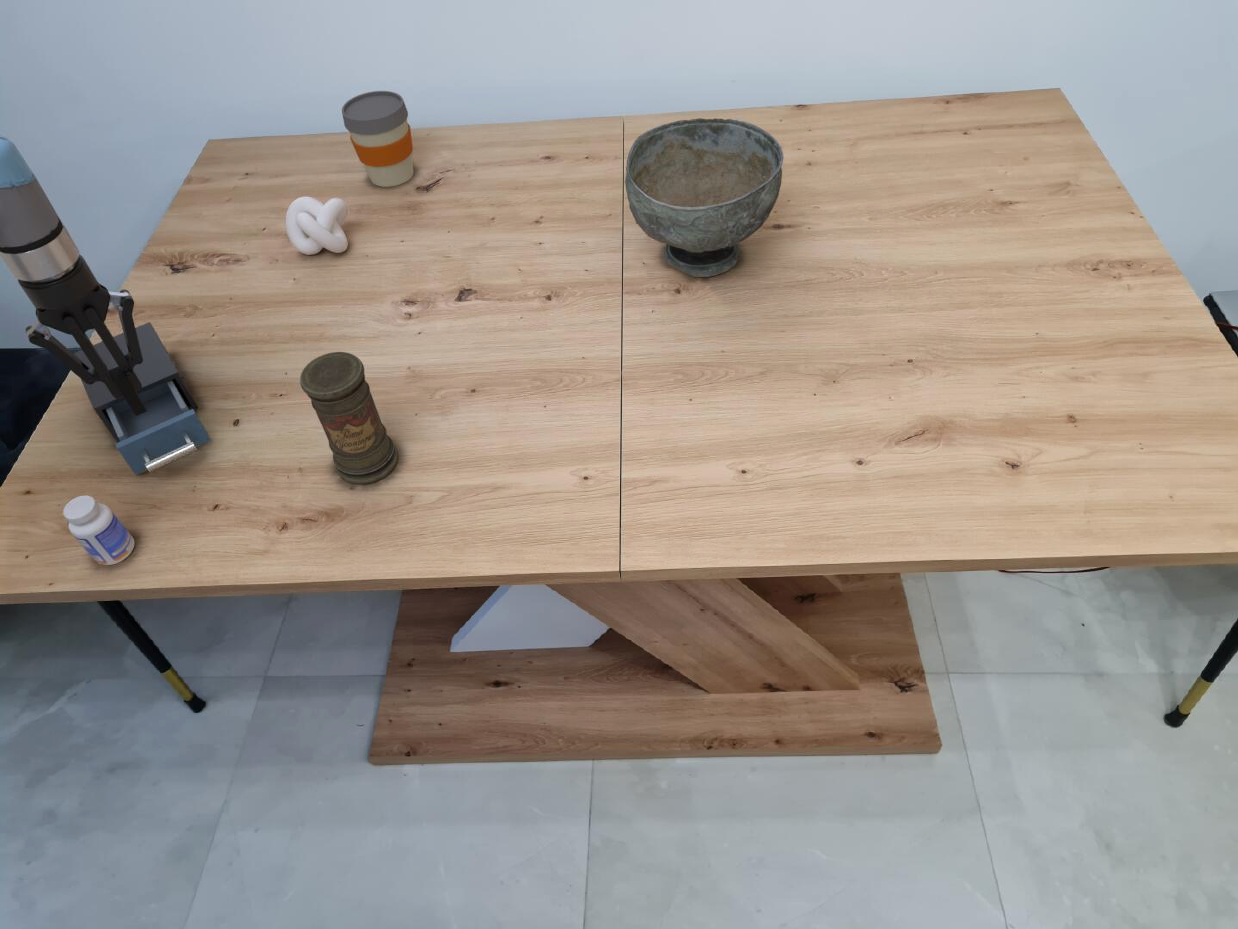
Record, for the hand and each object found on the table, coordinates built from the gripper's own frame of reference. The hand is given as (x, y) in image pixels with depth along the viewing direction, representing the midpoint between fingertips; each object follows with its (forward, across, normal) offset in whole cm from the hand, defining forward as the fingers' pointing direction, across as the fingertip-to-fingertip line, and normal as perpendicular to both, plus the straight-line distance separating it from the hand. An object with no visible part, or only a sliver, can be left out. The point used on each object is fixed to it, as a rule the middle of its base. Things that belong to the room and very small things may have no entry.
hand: (139, 408), depth 124 cm
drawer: (+12, 0, -7) cm, 14 cm away
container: (+13, -23, +17) cm, 31 cm away
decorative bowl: (+12, -92, +9) cm, 94 cm away
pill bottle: (+13, +12, +10) cm, 20 cm away
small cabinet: (+13, 0, -19) cm, 23 cm away
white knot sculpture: (+13, -40, -39) cm, 58 cm away
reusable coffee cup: (+12, -61, -55) cm, 83 cm away
